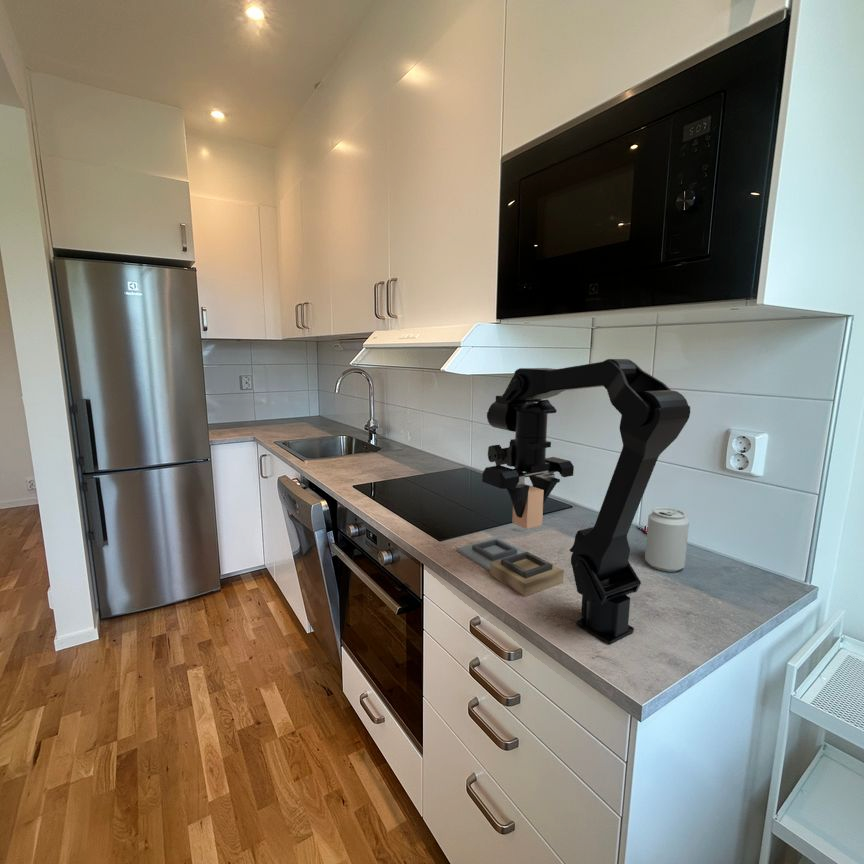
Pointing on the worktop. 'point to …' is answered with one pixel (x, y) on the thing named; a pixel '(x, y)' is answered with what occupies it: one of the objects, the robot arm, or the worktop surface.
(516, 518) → the plug
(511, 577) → the beige square socket
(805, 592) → the worktop surface
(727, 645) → the worktop surface
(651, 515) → the can
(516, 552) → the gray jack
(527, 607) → the worktop surface
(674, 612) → the worktop surface
